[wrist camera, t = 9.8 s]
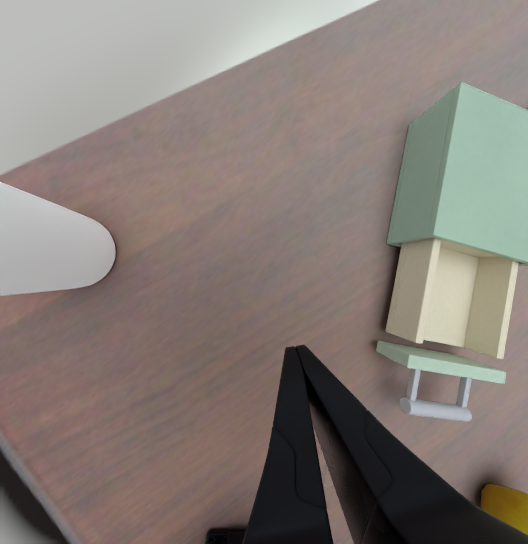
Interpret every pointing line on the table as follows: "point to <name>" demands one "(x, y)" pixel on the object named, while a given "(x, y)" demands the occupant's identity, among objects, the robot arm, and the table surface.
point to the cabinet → (466, 176)
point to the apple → (506, 505)
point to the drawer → (449, 317)
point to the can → (49, 245)
